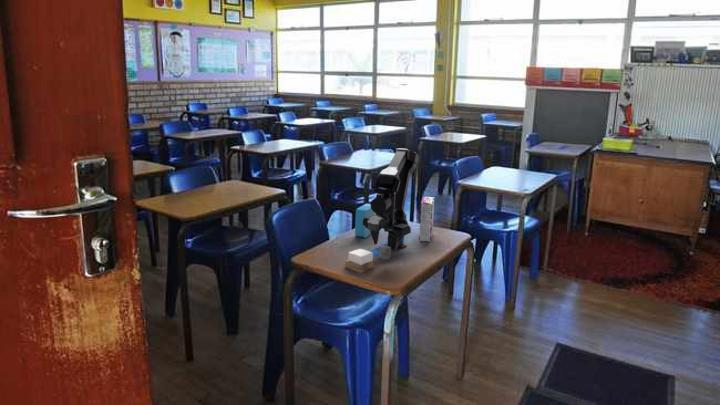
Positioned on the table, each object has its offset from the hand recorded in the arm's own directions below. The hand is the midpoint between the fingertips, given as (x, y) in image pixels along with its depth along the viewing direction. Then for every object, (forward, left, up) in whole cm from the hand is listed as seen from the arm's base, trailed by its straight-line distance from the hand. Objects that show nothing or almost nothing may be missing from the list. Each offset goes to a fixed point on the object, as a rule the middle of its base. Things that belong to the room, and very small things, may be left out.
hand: (385, 247), depth 198 cm
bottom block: (+14, 0, -5) cm, 15 cm away
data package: (-16, -24, -4) cm, 29 cm away
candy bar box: (-31, -3, -4) cm, 31 cm away
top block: (+14, 0, -2) cm, 14 cm away
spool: (0, 0, -4) cm, 4 cm away
